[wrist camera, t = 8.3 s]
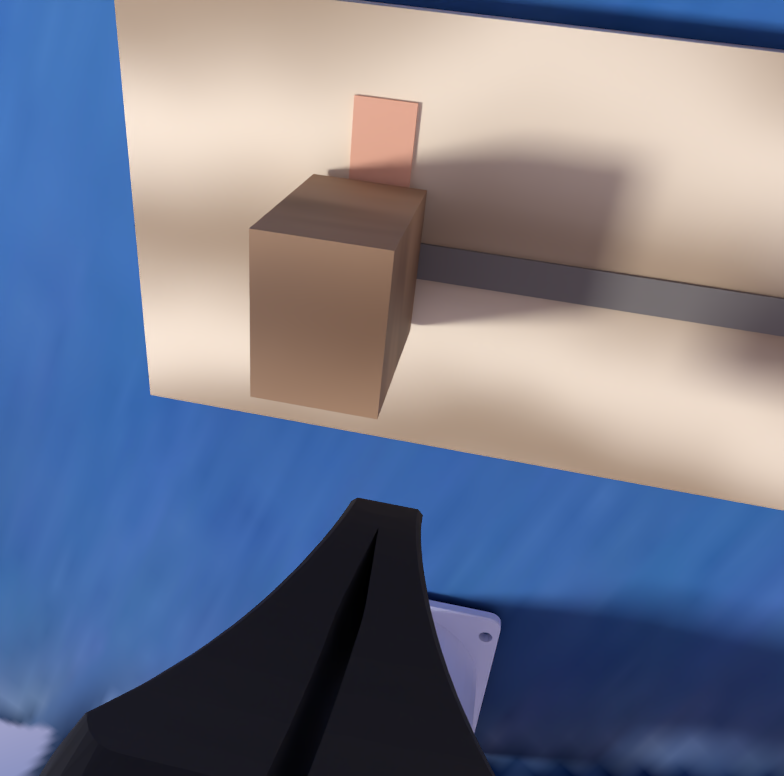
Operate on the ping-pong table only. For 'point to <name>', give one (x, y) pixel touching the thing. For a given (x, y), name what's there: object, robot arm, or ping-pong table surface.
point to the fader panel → (485, 224)
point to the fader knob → (333, 293)
